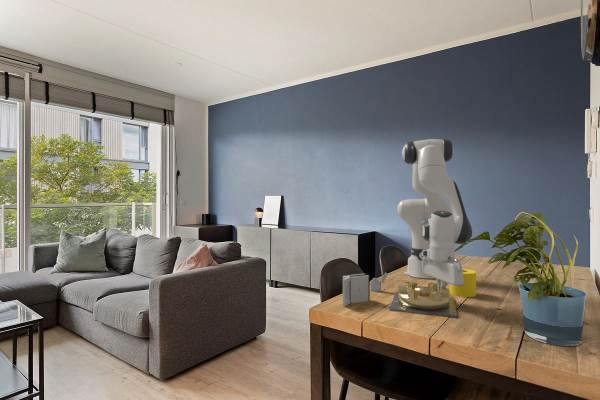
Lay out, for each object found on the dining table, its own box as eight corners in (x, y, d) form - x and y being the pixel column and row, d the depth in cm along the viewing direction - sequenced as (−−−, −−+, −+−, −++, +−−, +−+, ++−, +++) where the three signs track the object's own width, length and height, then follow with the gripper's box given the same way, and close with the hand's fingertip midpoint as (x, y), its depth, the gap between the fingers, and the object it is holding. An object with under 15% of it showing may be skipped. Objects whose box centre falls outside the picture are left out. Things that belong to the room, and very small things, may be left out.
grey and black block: (344, 307, 128) (344, 279, 127) (335, 303, 132) (334, 277, 132) (371, 300, 135) (371, 274, 135) (361, 297, 140) (361, 272, 140)
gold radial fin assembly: (413, 292, 143) (413, 278, 143) (457, 302, 130) (457, 286, 129) (388, 301, 131) (388, 286, 131) (434, 313, 117) (434, 296, 117)
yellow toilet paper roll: (479, 297, 138) (479, 274, 138) (452, 296, 140) (452, 273, 140) (472, 290, 148) (472, 268, 148) (447, 289, 150) (447, 268, 150)
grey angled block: (370, 290, 149) (370, 272, 149) (371, 289, 151) (371, 271, 151) (387, 292, 147) (387, 273, 146) (388, 291, 148) (388, 272, 148)
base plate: (395, 293, 144) (395, 291, 144) (453, 299, 136) (453, 296, 136) (389, 310, 124) (389, 307, 124) (457, 317, 116) (457, 315, 116)
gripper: (468, 259, 121) (468, 299, 121) (433, 249, 141) (433, 283, 141) (452, 260, 119) (452, 300, 120) (419, 250, 139) (419, 284, 140)
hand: (441, 291), depth 130 cm, fingers closed
